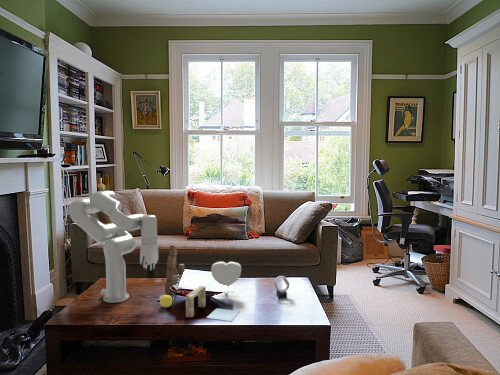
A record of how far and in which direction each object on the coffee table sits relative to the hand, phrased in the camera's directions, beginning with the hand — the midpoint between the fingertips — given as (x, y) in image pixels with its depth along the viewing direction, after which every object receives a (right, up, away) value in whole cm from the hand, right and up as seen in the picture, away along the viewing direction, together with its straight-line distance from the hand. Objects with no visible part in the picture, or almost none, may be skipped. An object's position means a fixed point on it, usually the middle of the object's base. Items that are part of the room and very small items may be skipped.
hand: (150, 277), depth 196 cm
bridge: (+23, -15, -6) cm, 28 cm away
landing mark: (+37, -15, -11) cm, 41 cm away
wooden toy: (+8, -13, +24) cm, 28 cm away
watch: (+65, -14, +14) cm, 68 cm away
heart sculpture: (+36, -13, +15) cm, 41 cm away
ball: (+8, -11, -2) cm, 14 cm away
